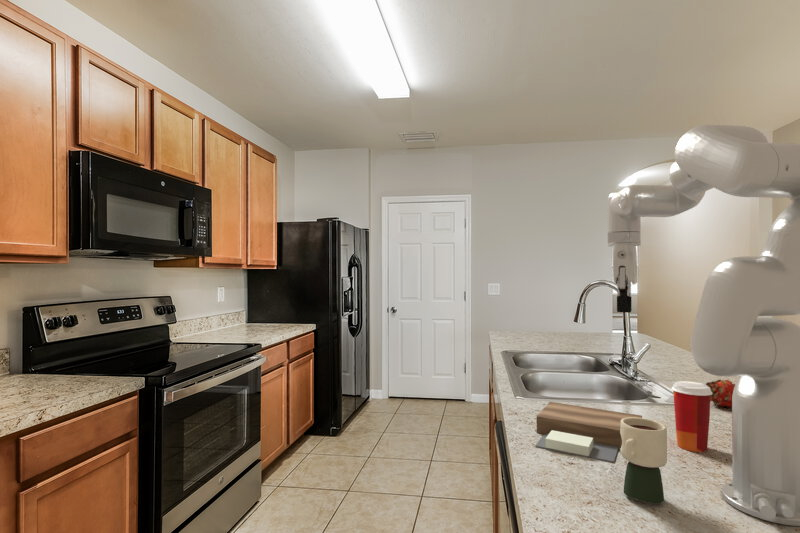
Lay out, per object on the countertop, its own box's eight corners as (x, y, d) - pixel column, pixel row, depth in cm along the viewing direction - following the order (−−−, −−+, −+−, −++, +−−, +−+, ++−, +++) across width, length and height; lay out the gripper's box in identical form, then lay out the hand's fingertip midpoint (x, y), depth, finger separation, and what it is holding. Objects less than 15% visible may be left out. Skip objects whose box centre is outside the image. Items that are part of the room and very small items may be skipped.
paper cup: (704, 442, 102) (704, 381, 102) (719, 456, 95) (718, 390, 95) (666, 439, 104) (666, 379, 105) (677, 452, 97) (677, 387, 97)
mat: (613, 462, 92) (613, 461, 92) (535, 446, 100) (535, 445, 100) (618, 448, 99) (618, 446, 99) (545, 434, 108) (545, 433, 108)
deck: (638, 451, 97) (638, 433, 97) (536, 432, 109) (536, 416, 109) (642, 431, 109) (642, 415, 109) (550, 416, 121) (550, 401, 121)
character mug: (638, 481, 83) (638, 412, 84) (679, 497, 78) (679, 423, 78) (606, 499, 77) (606, 424, 77) (649, 517, 71) (648, 436, 71)
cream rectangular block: (593, 437, 99) (593, 446, 99) (551, 430, 104) (551, 438, 104) (588, 446, 94) (588, 456, 94) (545, 438, 99) (545, 447, 99)
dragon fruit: (708, 414, 127) (729, 414, 133) (737, 403, 122) (757, 403, 127) (691, 386, 132) (712, 387, 138) (718, 374, 126) (739, 375, 132)
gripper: (638, 237, 105) (639, 315, 105) (642, 241, 118) (642, 310, 118) (603, 238, 109) (604, 313, 109) (611, 242, 122) (611, 309, 122)
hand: (624, 311), depth 113 cm, fingers closed
